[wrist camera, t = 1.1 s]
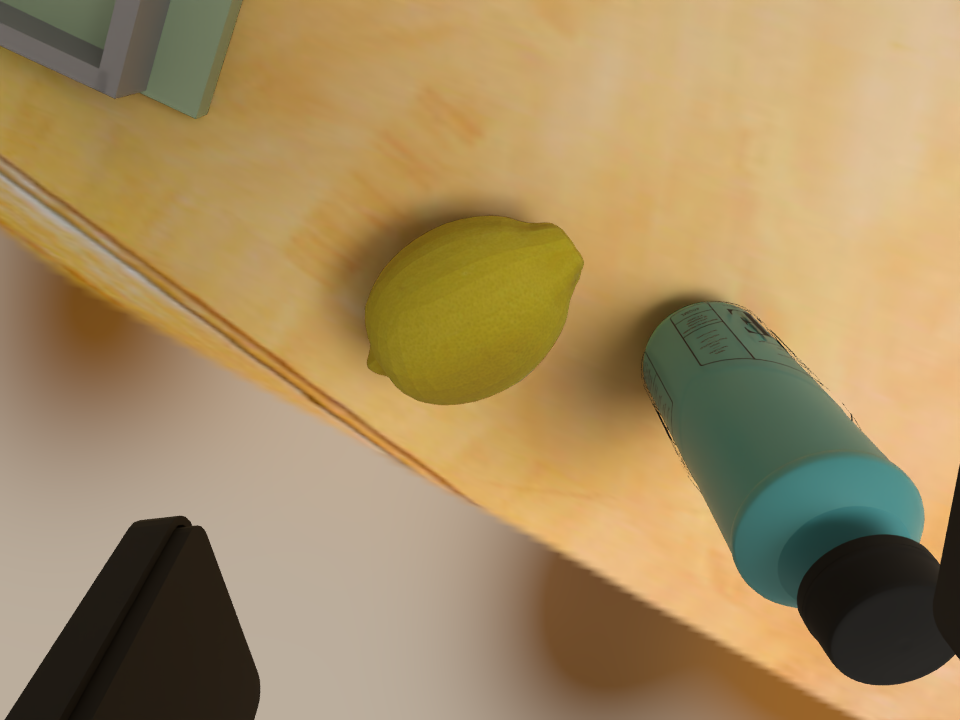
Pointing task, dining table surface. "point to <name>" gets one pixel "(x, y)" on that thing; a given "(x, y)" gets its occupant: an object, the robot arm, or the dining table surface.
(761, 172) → the dining table surface
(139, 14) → the deck plate
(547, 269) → the lemon
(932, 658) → the beverage bottle
